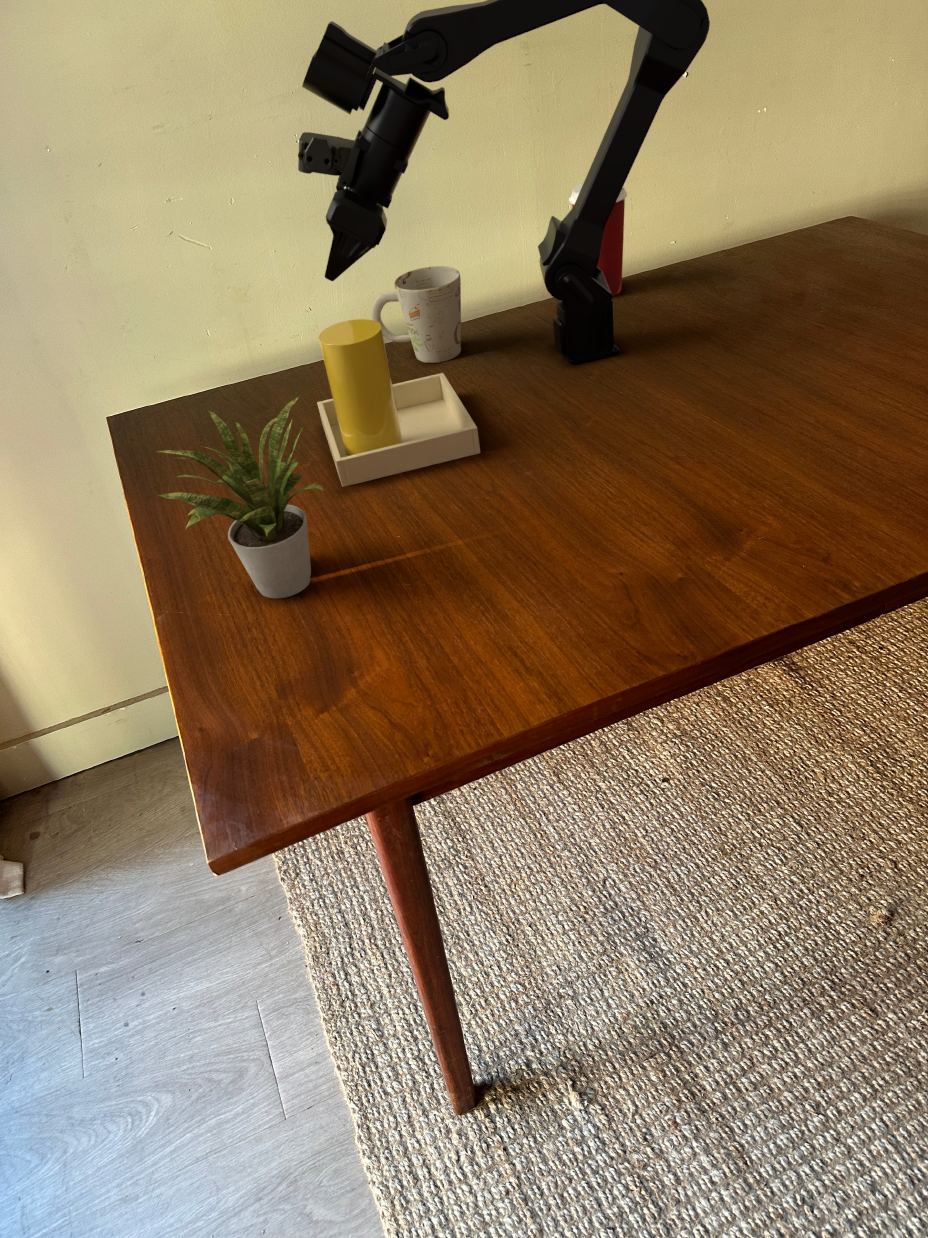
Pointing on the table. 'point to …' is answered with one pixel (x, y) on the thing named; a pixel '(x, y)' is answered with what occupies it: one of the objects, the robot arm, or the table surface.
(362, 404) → the yellow cylinder
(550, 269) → the robot arm
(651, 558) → the table surface
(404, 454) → the white rectangular tray
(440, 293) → the mug
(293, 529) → the house plant
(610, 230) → the paper cup
